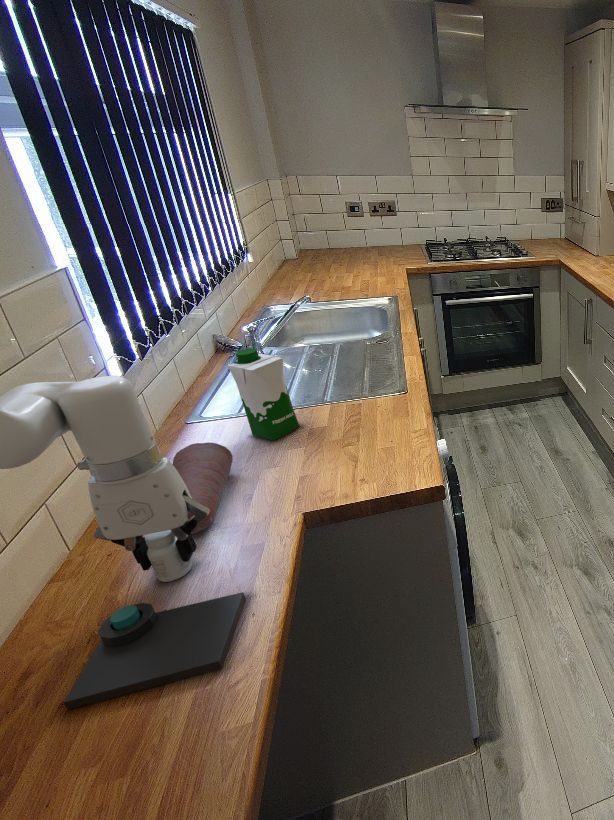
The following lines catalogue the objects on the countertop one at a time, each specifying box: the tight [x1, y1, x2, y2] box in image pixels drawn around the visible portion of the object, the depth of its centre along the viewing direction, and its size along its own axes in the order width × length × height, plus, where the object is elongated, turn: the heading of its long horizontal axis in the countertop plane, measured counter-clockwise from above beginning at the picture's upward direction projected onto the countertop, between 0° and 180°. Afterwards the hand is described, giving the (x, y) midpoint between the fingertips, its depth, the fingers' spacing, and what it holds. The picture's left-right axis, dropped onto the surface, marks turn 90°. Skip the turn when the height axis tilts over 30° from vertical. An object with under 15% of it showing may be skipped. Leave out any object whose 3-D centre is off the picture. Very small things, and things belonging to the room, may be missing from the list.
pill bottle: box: [144, 530, 193, 583], centre depth 81 cm, size 4×4×8 cm
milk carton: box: [227, 348, 301, 442], centre depth 120 cm, size 9×9×20 cm
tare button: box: [109, 604, 141, 630], centre depth 71 cm, size 3×3×2 cm
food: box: [172, 442, 234, 535], centre depth 97 cm, size 21×9×9 cm, turn 33°
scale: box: [63, 591, 247, 711], centre depth 70 cm, size 16×13×3 cm
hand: (169, 558), depth 82 cm, fingers closed on pill bottle, 4 cm apart
